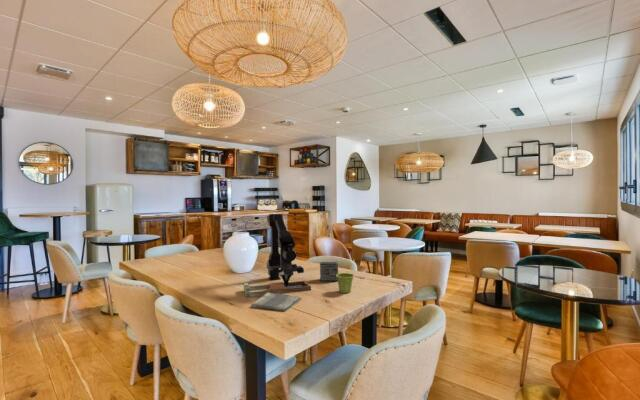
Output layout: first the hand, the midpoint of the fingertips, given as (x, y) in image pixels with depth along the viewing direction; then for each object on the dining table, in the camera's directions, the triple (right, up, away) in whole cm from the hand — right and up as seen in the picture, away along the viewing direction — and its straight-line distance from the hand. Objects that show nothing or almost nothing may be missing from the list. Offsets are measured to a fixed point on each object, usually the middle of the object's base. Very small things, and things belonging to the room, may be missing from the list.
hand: (286, 286), depth 171 cm
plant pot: (+32, -1, -5) cm, 32 cm away
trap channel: (-5, -2, -1) cm, 5 cm away
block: (-5, -2, -2) cm, 5 cm away
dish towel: (-2, -3, -22) cm, 22 cm away
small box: (+24, -1, +18) cm, 30 cm away
